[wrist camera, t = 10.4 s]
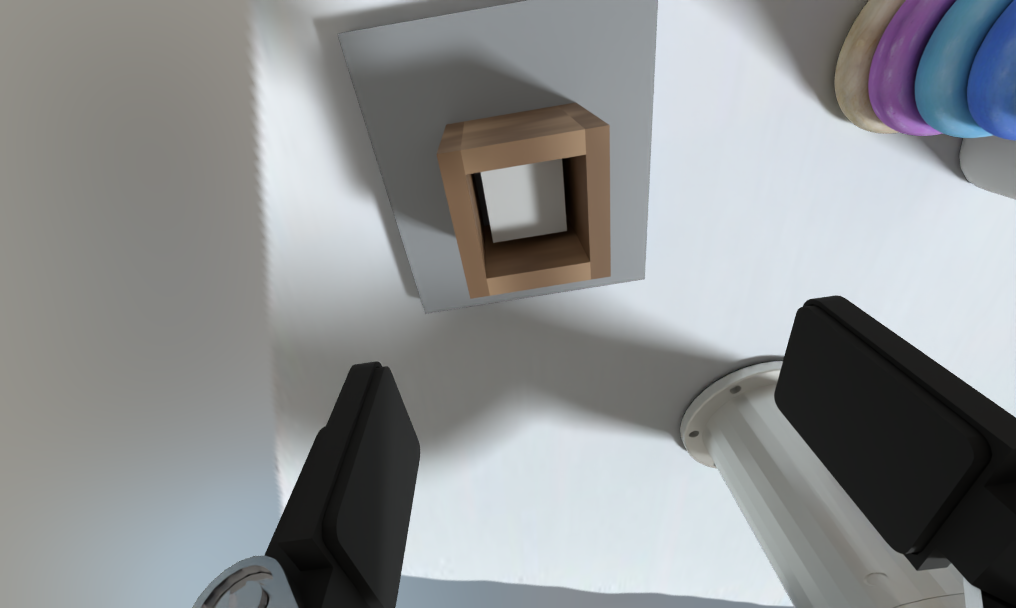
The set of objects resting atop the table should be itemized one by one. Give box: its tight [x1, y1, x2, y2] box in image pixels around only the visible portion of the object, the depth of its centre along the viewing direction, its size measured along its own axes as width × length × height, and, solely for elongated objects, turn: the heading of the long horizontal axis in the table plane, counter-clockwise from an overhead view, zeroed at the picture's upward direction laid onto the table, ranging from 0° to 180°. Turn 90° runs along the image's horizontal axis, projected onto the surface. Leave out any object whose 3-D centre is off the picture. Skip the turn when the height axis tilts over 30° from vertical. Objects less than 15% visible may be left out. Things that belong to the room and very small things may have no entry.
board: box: [337, 0, 658, 314], centre depth 21 cm, size 14×15×5 cm
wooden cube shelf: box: [436, 103, 611, 299], centre depth 19 cm, size 6×6×6 cm
